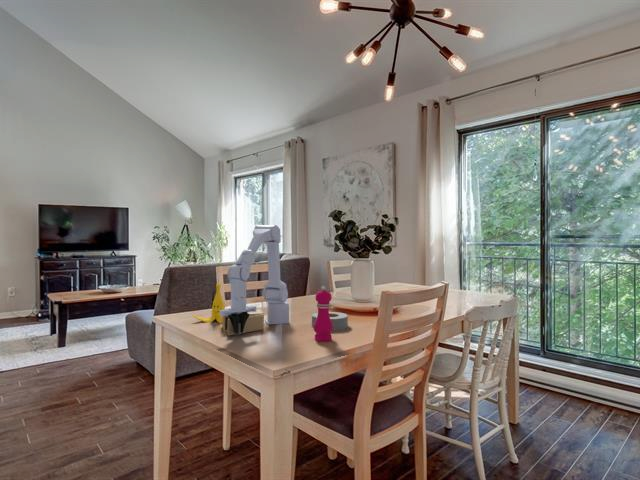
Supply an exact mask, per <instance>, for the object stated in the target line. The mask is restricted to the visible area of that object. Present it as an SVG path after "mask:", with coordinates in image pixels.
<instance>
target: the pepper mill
mask: <svg viewBox="0 0 640 480" xmlns="http://www.w3.org/2000/svg"><path fill="white" fill-rule="evenodd" d="M332 299H333V298H332V294H331V292H330V291H328V290H327V287H326V286H325V285H322V286H321V290H319V291H317V292H316V294H315V300H316V302H317V303H316V308H317V313H318V316H317V319H316V321H315V323H314V328H313V330H314V332H315V334H314V340H315V341H317V342H320V343H321V342H330V341H332V334H331V333H332V332H333V331H332V330H333V325H332V322H331V320H330V317H329V312H330V308H331V303H330V302H331V301H332Z"/></svg>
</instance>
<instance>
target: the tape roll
mask: <svg viewBox="0 0 640 480" xmlns="http://www.w3.org/2000/svg"><path fill="white" fill-rule="evenodd" d="M317 316H318V312H314V313H312V314H311V327H312V328H313V329H314V323H315V321H316V319H317ZM329 317H330V320H331V322H332V325H333V330H332V332H333V331H343V330H347V328H348V325H349V324H348V323H349V322H348V318H349V317H348V314H347V313H344V312H337V311H329Z"/></svg>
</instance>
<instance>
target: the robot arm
mask: <svg viewBox="0 0 640 480" xmlns="http://www.w3.org/2000/svg"><path fill="white" fill-rule="evenodd" d="M252 235H253V237H252V238H251V241H250V242H249V245H248V247H247V249H244V250H242V252H241V254H240V255H239V257H238V259H237V260H236V261H235V263H234V264H232V265H231V266H229V268H228V269H227V270H228V271H227V278H228V280H229V282H228V283H229V285H230V308H224V310H220V316H225V315H228V317H229V319H230V321H231V323H232V326H233V330H234V333H236V334H235V335H239V334H238V325H239V323H241V334H242V333H243V330H244V326H245V323H246V321H247V319H248V317H249V314H248V313H247V312H256V309H257V306H256V305H249V306H248V305H247V280H248V279H249V278H250V273H251V270H252V269H251V267H252V265H253V264H254V262H255V260H256V253H257V252H258V250H259V249H260V247H261V246H262V244H265V245H266V247H267V248H266V249H267V250H266V251H267V252H266V253H267V271H268V272H267V273H268V275H267V276H268V281H267V282H266V283H265V284H264V285H263V293H262V295H263V300H265V302H266V304H267V305H266V307H267V308H266V309H267V310H266V311H267V316H266V317H267V318H266V319H264V322H265V323H267V324H266V325H280V324H283V325H285V324H290V305H289V304H290V303H289V301H287V300H288V298H289V292H288V288H287V284H286V283H285V282H284V281H282V280H281V263H280V259H281V258H280V243H281V228H280V227H279V226H278V225H277V224H269V225H268V224H264V225H263V224H257V225H255V227H254V229H253V230H252ZM243 334H244V333H243Z"/></svg>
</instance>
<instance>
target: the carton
mask: <svg viewBox="0 0 640 480" xmlns="http://www.w3.org/2000/svg"><path fill="white" fill-rule="evenodd" d="M247 313H248V314H249V316H255V315H262V314H264V315H265V313H264V312H263V310H262V309H261V308H256V312H247ZM228 319H229V317H228V315H225V316H222V323H221V326H222V330H223V332H224V333H228Z"/></svg>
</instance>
